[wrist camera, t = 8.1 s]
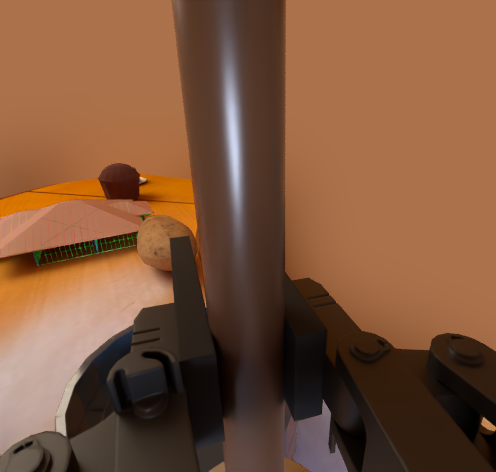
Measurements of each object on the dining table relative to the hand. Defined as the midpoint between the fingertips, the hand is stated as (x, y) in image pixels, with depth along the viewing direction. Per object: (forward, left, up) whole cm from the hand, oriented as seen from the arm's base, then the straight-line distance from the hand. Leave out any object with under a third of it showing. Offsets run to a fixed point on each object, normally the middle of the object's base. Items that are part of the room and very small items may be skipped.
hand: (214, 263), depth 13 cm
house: (+61, -14, -20) cm, 66 cm away
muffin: (+80, -36, -20) cm, 90 cm away
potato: (+34, -19, -20) cm, 44 cm away
